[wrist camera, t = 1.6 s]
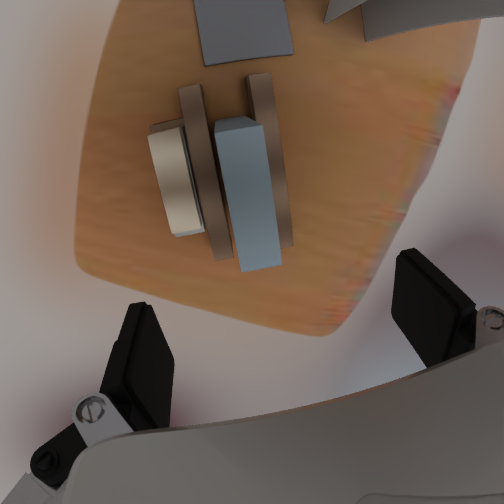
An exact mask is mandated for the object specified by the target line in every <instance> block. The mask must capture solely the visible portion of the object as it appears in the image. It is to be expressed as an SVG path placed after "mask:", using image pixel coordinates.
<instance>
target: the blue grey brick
mask: <svg viewBox="0 0 504 504" xmlns="http://www.w3.org/2000/svg"><path fill="white" fill-rule="evenodd" d="M214 134H215V139H216V144H217V150H218V155H219V160H220V165H221V171H222V176H223V181H224V186H225V191H226V197H227V202H228V207H229V212H230V217H231V222H232V227H233V232H234V237H235V242H236V247H237V252H238V257H239V262H240V267H241V272H247V271H252V270H257V269H262V268H268V267H273V266H278V265H282V258H281V250H280V243H279V235H278V228H277V220H276V213H275V205H274V198H273V191H272V184H271V177H270V170H269V164H268V157H267V150H266V144H265V137H264V130H263V125H262V124H260V123H258V122H256V121H254V120H252V119H250V118H248V117H246V116H238V117H232V118H226V119H221V120H216V121H215V132H214Z"/></svg>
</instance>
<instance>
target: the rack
mask: <svg viewBox="0 0 504 504" xmlns="http://www.w3.org/2000/svg"><path fill="white" fill-rule="evenodd" d="M245 82H246V88H247V93H248V99H249V105H250V111H251V118H252V120H254V121H256V122H258V123H260V124H262V125H263V130H264V137H265V144H266V150H267V157H268V164H269V170H270V177H271V184H272V191H273V198H274V205H275V213H276V220H277V228H278V235H279V243H280V249H281V248H286V247H292V246H294V244H293V234H292V225H291V217H290V208H289V200H288V192H287V184H286V176H285V168H284V160H283V153H282V146H281V139H280V132H279V125H278V118H277V111H276V105H275V98H274V92H273V85H272V79H271V73H261V74H254V75H248V76H247V77H246V78H245ZM178 92H179V98H180V103H181V108H182V113H183V118H184V123H185V128H186V133H187V138H188V143H189V148H190V152H191V157H192V162H193V166H194V171H195V176H196V180H197V185H198V189H199V194H200V198H201V203H202V207H203V212H204V216H205V220H206V225H207V229H208V233H209V238H210V242H211V246H212V250H213V254H214V258H215V261H218V260H223V259H229V258H234V256H233V248H232V240H231V235H230V231H229V226H228V221H227V216H226V211H225V206H224V201H223V196H222V191H221V186H220V181H219V176H218V171H217V165H216V160H215V155H214V150H213V145H212V139H211V134H210V129H209V124H208V118H207V113H206V108H205V102H204V97H203V91H202V86H201V85H200V84H195V85H191V86H186V87H182V88H178Z"/></svg>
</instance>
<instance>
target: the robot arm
mask: <svg viewBox="0 0 504 504" xmlns="http://www.w3.org/2000/svg"><path fill="white" fill-rule="evenodd" d="M475 306H476V304H475V303H474V302H473V301H472V300H471V299H470V298H469V297H468V296H467V295H466V294H465V293H464V292H463V291H462V290H461V289H460V288H459V287H458V286H457V285H455V284H454V283H453V282H452V281H451V280H450V279H449V278H448V277H447V276H446V275H445V274H444V273H443V272H442V271H440V270H439V269H438V268H437V267H436V266H435V265H434V264H433V263H432V262H430V261H429V260H428V259H427V258H426V257H425V256H424V255H423V254H421V253H420V252H419V251H418V250H417V249H415V248H412V249H407V250H402V251H401V252H400V254H399V255H398V256H397V258H396V269H395V281H394V290H393V299H392V308H391V314H392V317H393V319H394V321H395V322H396V323H397V325H398V326H399V328H400V329H401V331H402V332H403V333H404V335H405V336H406V338H407V339H408V340H409V342H410V344H411V345H412V346H413V348H414V349H415V351H416V352H417V354H418V355H419V357H420V358H421V360H422V361H423V363H424V364H425V366H426V367H427V368H426V369H424V370H421V371H419V372H416V373H413V374H410V375H408V376H405V377H402V378H399V379H396V380H394V381H391V382H388V383H385V384H382V385H378V386H375V387H372V388H369V389H366V390H363V391H359V392H356V393H352V394H349V395H345V396H342V397H338V398H334V399H331V400H327V401H323V402H319V403H315V404H311V405H306V406H302V407H298V408H294V409H289V410H284V411H279V412H274V413H269V414H264V415H258V416H253V417H247V418H241V419H234V420H227V421H220V422H212V423H205V424H197V425H188V426H179V427H169V424H170V409H171V397H172V386H173V374H174V358H173V355H172V353H171V350H170V348H169V346H168V344H167V341H166V339H165V337H164V334H163V332H162V330H161V327H160V325H159V322H158V320H157V318H156V315H155V313H154V310H153V308H152V306H151V305H147V304H146V303H145V302H139V303H132V304H130V305H129V307H128V310H127V313H126V316H125V319H124V322H123V325H122V328H121V331H120V334H119V337H118V340H117V341H116V342H115V343H114V345H113V348H112V352H111V354H110V358H109V361H108V364H107V367H106V370H105V374H104V377H103V381H102V384H101V387H100V391H99V393H90V394H87V395H85V396H83V397H82V398H80V399H79V400H78V401H77V403H76V404H75V405H74V408H73V410H72V418H73V421H74V423H72V424H71V425H70V426H68V427H67V428H66V429H64V430H63V431H62V432H60V433H59V434H57V435H56V436H55V437H53V438H52V439H50V440H49V441H48V442H47V443H45V444H44V445H42V446H41V447H39V448H38V449H37V450H36V451H35V452H34V454H33V456H32V458H31V462H30V468H31V473H30V474H27V473H25V474H24V475H23V477H22V478H21V479H20V480H19V482H18V483H17V484H16V485H15V487H14V488H13V489H12V490H11V492H10V493H9V494H8V496H7V497H6V498H5V499H4V501H3V502H2V503H1V504H504V310H502V309H500V308H497V307H492V306H487V307H483V308H481V309H480V310H479V311H477V310H476V309H475Z"/></svg>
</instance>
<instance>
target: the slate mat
mask: <svg viewBox="0 0 504 504" xmlns="http://www.w3.org/2000/svg"><path fill="white" fill-rule="evenodd" d="M194 5H195V11H196V16H197V22H198V28H199V34H200V39H201V45H202V51H203V56H204V62H205V67H206V66H212V65H217V64H223V63H229V62H236V61H242V60H250V59H258V58H266V57H276V56H287V55H293V54H294V52H293V46H292V40H291V35H290V29H289V24H288V18H287V13H286V8H285V3H284V0H194Z"/></svg>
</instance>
